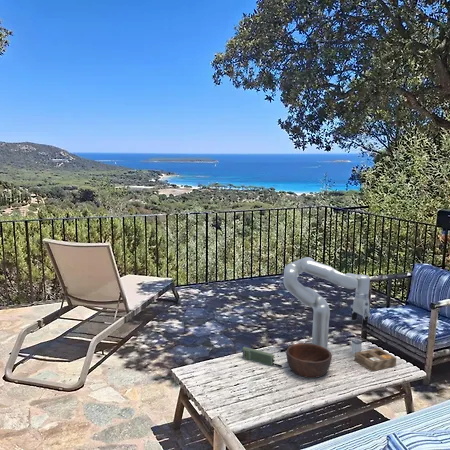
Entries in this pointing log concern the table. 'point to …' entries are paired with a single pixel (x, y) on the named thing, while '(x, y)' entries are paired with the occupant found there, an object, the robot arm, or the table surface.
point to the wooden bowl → (308, 359)
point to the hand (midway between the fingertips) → (359, 322)
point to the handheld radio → (259, 356)
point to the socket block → (375, 359)
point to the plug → (356, 346)
